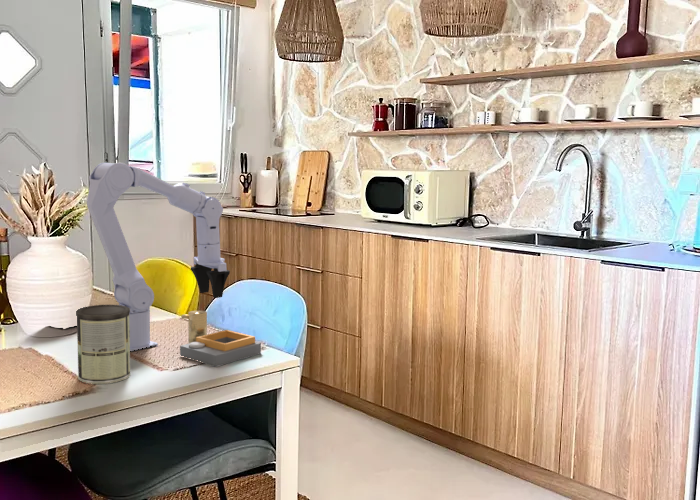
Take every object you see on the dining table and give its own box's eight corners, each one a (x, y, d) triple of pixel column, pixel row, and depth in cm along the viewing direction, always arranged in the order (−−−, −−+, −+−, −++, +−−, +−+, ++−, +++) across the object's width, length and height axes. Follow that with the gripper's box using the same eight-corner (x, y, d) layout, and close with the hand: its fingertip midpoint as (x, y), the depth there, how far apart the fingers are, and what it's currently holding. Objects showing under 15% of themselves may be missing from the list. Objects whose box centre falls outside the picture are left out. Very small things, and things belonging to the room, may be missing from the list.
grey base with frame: (215, 366, 145) (215, 348, 144) (180, 356, 152) (180, 339, 151) (260, 353, 156) (260, 336, 156) (225, 344, 163) (225, 328, 163)
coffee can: (67, 376, 136) (66, 309, 134) (113, 366, 143) (112, 302, 142) (94, 388, 129) (93, 317, 127) (140, 376, 137) (140, 309, 135)
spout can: (207, 342, 165) (207, 310, 164) (206, 346, 161) (206, 314, 160) (182, 342, 164) (182, 310, 163) (180, 347, 160) (180, 314, 159)
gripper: (236, 244, 166) (238, 297, 168) (209, 238, 177) (212, 288, 180) (210, 247, 162) (213, 301, 164) (185, 241, 173) (187, 292, 175)
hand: (211, 294), depth 172 cm, fingers open, 7 cm apart
